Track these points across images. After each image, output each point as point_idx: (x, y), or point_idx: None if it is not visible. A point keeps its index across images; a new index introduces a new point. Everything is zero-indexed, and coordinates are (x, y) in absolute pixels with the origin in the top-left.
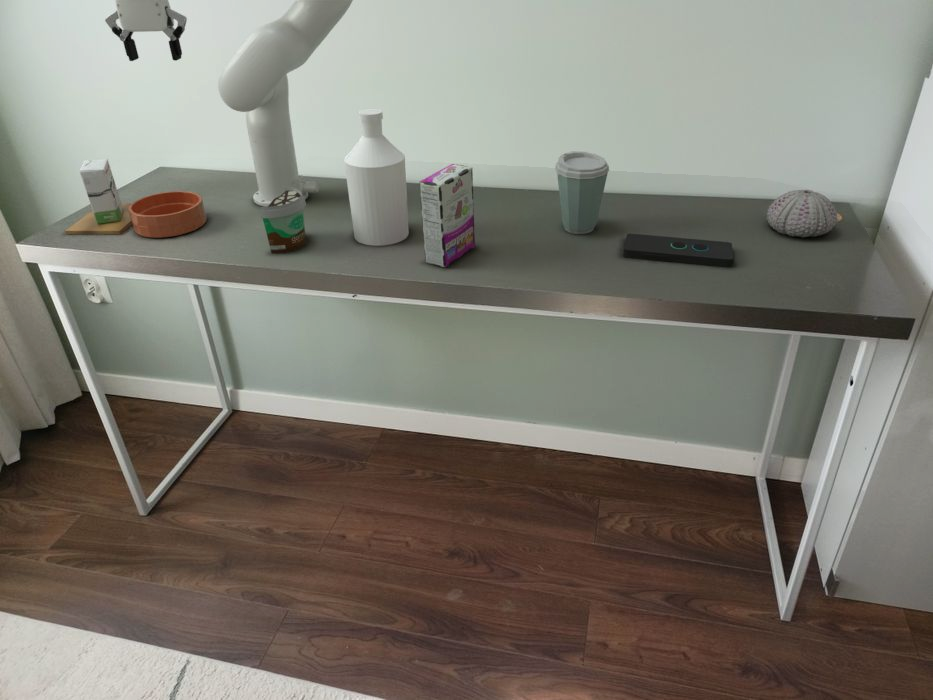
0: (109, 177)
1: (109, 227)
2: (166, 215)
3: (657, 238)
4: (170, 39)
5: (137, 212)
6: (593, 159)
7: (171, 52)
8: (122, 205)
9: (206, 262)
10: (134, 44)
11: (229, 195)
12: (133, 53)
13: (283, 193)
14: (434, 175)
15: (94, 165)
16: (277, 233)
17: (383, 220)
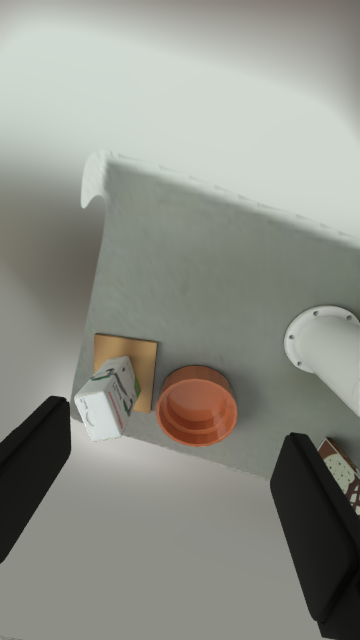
0: (122, 409)
1: (136, 404)
2: (206, 445)
3: None
4: (337, 631)
5: (161, 401)
6: None
7: (284, 527)
8: (123, 345)
9: (248, 474)
10: (13, 471)
11: (248, 317)
12: (51, 460)
13: (356, 484)
14: None
15: (100, 421)
16: None
17: None
